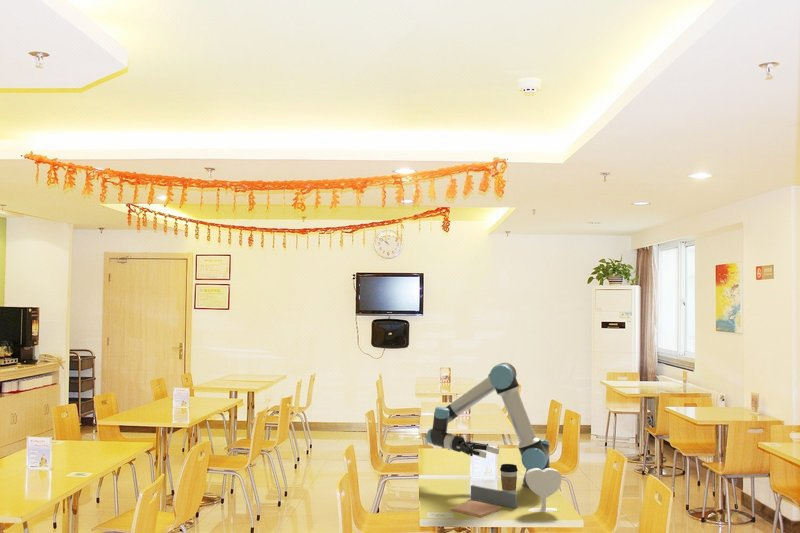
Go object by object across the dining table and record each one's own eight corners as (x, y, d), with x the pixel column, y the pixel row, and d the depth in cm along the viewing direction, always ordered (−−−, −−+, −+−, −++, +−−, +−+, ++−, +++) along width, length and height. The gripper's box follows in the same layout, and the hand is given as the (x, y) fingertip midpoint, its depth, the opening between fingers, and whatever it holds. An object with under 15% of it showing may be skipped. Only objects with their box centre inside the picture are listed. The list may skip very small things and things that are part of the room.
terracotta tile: (471, 502, 314) (471, 500, 314) (501, 509, 303) (501, 506, 303) (451, 510, 301) (451, 507, 302) (481, 517, 291) (481, 515, 291)
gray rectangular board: (472, 497, 321) (472, 485, 322) (516, 507, 306) (516, 493, 306) (470, 498, 320) (470, 485, 321) (515, 508, 305) (515, 494, 305)
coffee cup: (504, 499, 319) (504, 467, 320) (497, 494, 327) (497, 463, 328) (521, 498, 321) (520, 466, 322) (513, 493, 329) (513, 462, 330)
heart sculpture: (559, 508, 305) (558, 467, 306) (562, 511, 300) (562, 470, 301) (525, 508, 304) (524, 467, 305) (527, 511, 299) (527, 470, 300)
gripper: (465, 447, 353) (502, 457, 340) (441, 453, 332) (479, 464, 320) (467, 432, 353) (504, 442, 341) (442, 438, 332) (481, 448, 320)
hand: (492, 453), depth 330 cm, fingers open, 13 cm apart
